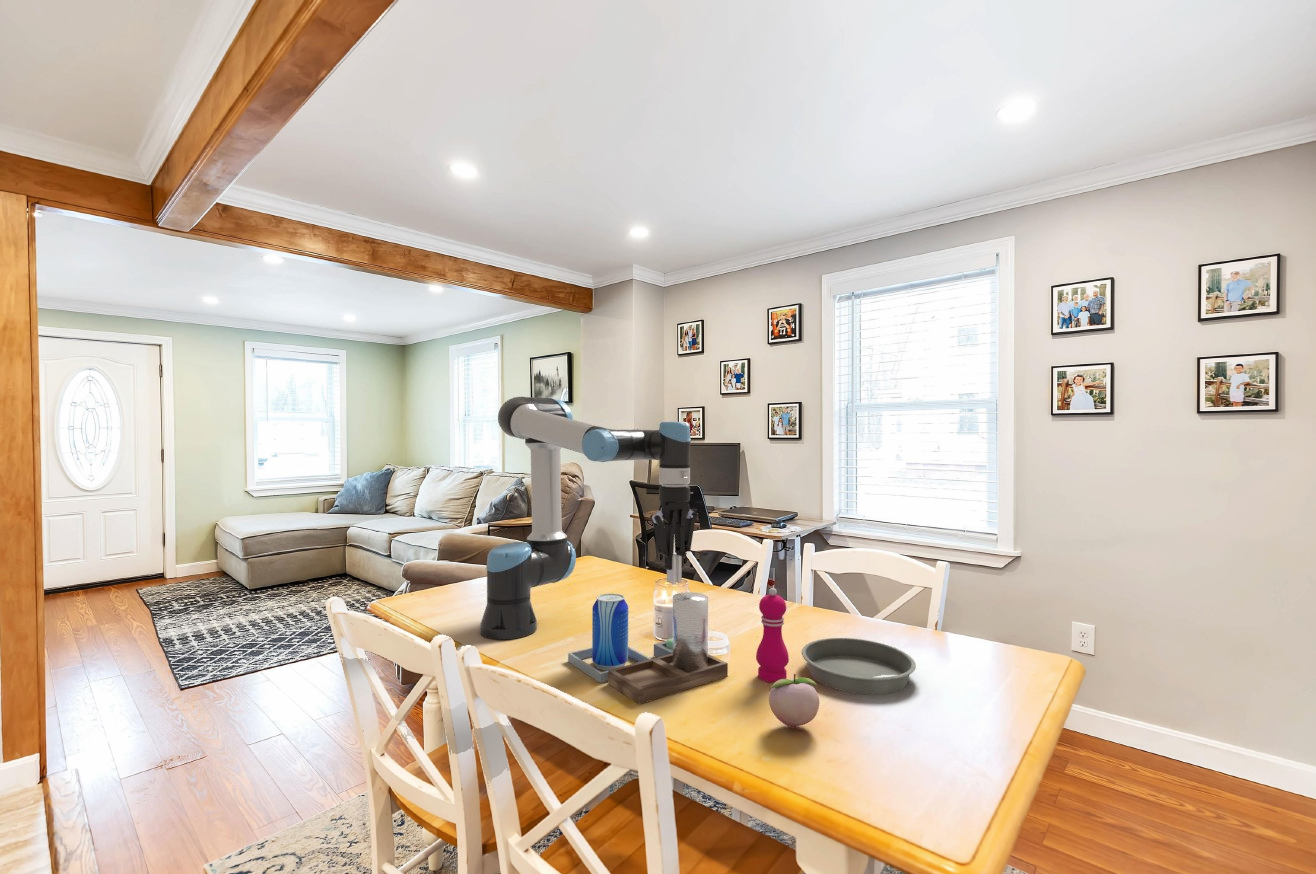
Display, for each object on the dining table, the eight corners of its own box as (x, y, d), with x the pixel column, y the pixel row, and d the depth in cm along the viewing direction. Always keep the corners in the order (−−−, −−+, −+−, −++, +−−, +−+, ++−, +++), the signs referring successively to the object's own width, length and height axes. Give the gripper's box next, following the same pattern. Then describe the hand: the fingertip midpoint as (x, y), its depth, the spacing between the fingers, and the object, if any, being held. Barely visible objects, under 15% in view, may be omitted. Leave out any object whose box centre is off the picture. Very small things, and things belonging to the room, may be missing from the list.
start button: (663, 656, 147) (663, 640, 147) (675, 653, 149) (675, 637, 149) (672, 661, 144) (672, 644, 144) (684, 657, 146) (684, 641, 146)
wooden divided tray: (608, 684, 131) (608, 670, 131) (693, 660, 145) (693, 647, 145) (639, 704, 121) (639, 689, 121) (727, 676, 136) (727, 663, 136)
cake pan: (794, 688, 130) (795, 667, 130) (807, 650, 153) (807, 632, 153) (919, 707, 122) (919, 684, 121) (912, 663, 145) (912, 644, 145)
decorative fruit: (787, 744, 106) (787, 687, 106) (761, 723, 114) (762, 670, 114) (830, 733, 110) (830, 679, 110) (802, 714, 117) (802, 663, 117)
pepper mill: (791, 674, 137) (792, 586, 137) (784, 686, 131) (785, 593, 130) (760, 668, 140) (761, 582, 140) (752, 680, 134) (752, 590, 133)
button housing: (653, 656, 148) (653, 644, 148) (676, 650, 152) (676, 638, 152) (670, 665, 142) (671, 652, 142) (693, 659, 146) (694, 646, 146)
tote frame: (568, 661, 144) (568, 653, 144) (618, 649, 152) (618, 641, 152) (600, 683, 132) (600, 674, 132) (653, 668, 140) (653, 659, 140)
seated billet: (665, 665, 138) (665, 595, 138) (692, 658, 142) (692, 590, 142) (687, 677, 131) (687, 604, 131) (715, 669, 136) (715, 598, 136)
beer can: (622, 673, 137) (623, 603, 137) (587, 670, 139) (587, 600, 139) (631, 659, 145) (632, 593, 145) (598, 657, 147) (598, 591, 147)
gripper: (660, 487, 139) (659, 589, 139) (706, 485, 148) (706, 581, 148) (642, 485, 145) (641, 583, 146) (687, 482, 154) (686, 575, 154)
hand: (674, 582), depth 147 cm, fingers closed
